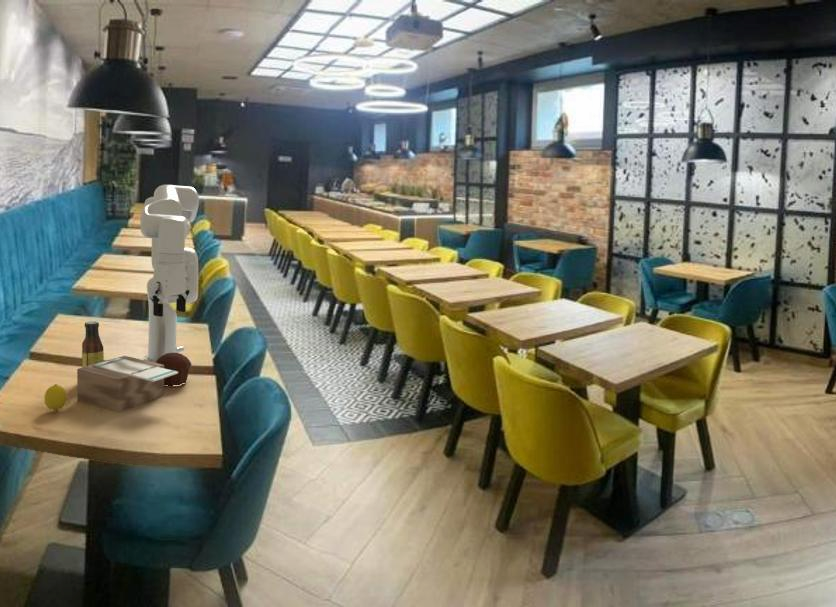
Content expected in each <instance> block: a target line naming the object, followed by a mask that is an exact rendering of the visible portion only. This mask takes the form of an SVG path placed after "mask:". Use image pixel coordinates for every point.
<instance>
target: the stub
mask: <svg viewBox="0 0 836 607" xmlns="http://www.w3.org/2000/svg"><path fill="white" fill-rule="evenodd" d="M175 374H178V372H177V371H174V370H168V369H164V368H160V367H155V368H152V369H149V370H146V371H143V372H139V373H136V374H133V375H132V376H133V377H137V378H141V379H145V380H149V381H153V382H155V381H157V380H160V379H163V378H166V377H169V376H172V375H175Z"/></svg>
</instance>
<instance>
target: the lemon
mask: <svg viewBox="0 0 836 607" xmlns="http://www.w3.org/2000/svg"><path fill="white" fill-rule="evenodd" d="M67 401H68V395H67V391H66V389H65V388H64V387H63V386H61V385H58V384H53V385H51V386H50V387H48V388H47V389H46V391H45V393H44V403H45V406H46V407H47V408H48V409H50V410H52V411H54V412H58V411H59V410H60V409H62V408H63V407H65V405H66V403H67Z"/></svg>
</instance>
